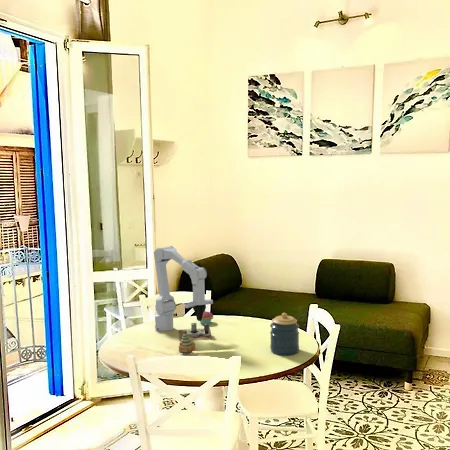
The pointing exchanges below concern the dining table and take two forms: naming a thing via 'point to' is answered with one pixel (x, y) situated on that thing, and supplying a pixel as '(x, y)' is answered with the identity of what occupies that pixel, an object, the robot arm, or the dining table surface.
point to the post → (193, 327)
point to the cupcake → (206, 318)
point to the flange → (199, 332)
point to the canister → (284, 335)
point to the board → (195, 337)
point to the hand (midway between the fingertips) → (199, 320)
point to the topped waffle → (186, 344)
